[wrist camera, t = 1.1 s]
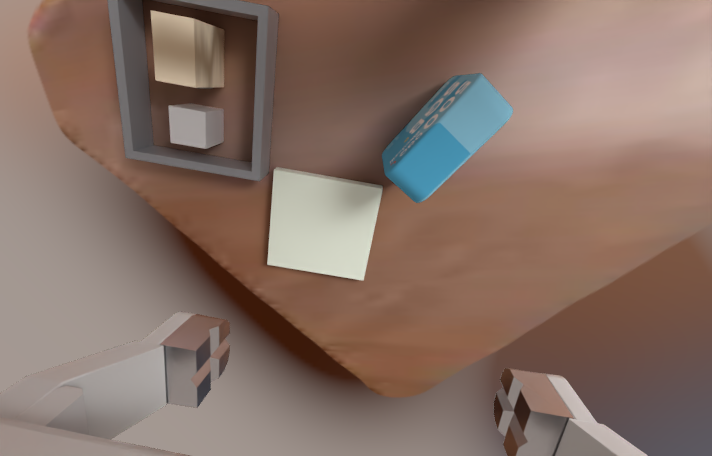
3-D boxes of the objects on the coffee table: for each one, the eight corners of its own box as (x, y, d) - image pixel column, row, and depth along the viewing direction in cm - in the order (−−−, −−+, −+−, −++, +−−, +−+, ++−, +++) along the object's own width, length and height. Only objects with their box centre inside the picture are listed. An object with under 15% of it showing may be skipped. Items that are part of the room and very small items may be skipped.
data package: (451, 74, 38) (485, 71, 27) (477, 102, 39) (520, 110, 28) (380, 153, 42) (384, 177, 31) (405, 176, 43) (418, 208, 32)
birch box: (188, 23, 37) (150, 10, 30) (224, 29, 37) (193, 18, 30) (190, 82, 39) (155, 82, 33) (224, 89, 39) (195, 89, 33)
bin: (131, -14, 35) (104, -26, 32) (278, 14, 36) (268, 6, 32) (146, 151, 43) (125, 157, 39) (268, 173, 43) (259, 181, 40)
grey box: (191, 103, 40) (168, 105, 36) (224, 109, 40) (205, 112, 36) (192, 136, 42) (170, 142, 37) (223, 141, 42) (205, 148, 37)
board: (276, 166, 43) (273, 169, 41) (382, 185, 43) (382, 188, 42) (270, 259, 48) (267, 264, 47) (363, 275, 49) (363, 280, 47)
